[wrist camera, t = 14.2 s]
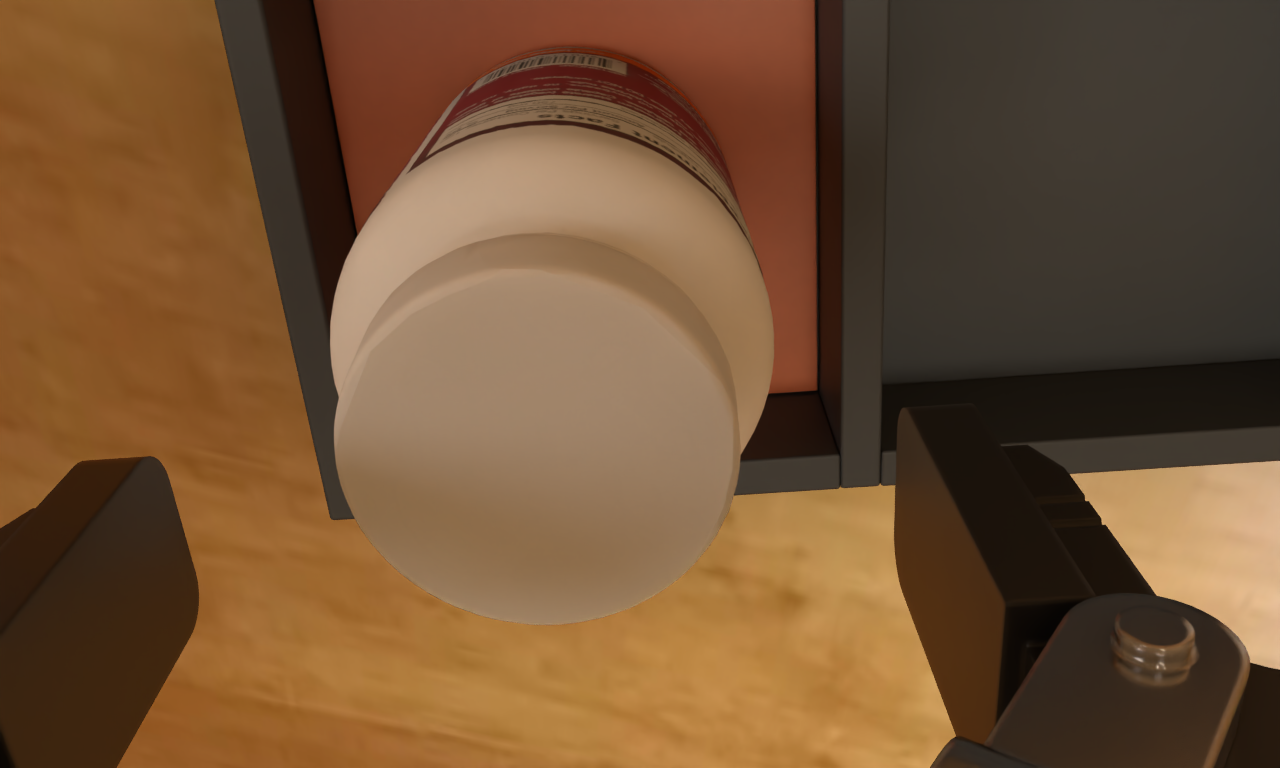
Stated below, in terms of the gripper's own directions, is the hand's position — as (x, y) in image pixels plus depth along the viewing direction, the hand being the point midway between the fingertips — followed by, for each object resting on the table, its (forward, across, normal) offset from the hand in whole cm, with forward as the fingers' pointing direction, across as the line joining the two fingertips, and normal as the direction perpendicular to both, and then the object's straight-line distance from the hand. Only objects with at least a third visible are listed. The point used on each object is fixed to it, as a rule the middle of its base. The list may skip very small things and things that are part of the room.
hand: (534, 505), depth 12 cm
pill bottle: (+12, 0, 0) cm, 12 cm away
